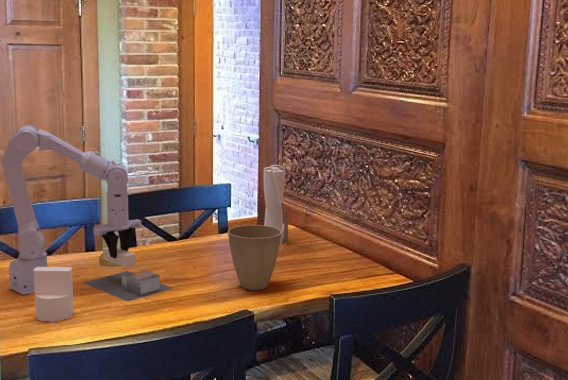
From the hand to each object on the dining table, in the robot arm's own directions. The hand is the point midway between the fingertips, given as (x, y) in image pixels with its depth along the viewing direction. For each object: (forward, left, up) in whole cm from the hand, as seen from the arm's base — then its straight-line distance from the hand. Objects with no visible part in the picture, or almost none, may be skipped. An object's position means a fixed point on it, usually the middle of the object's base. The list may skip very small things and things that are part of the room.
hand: (118, 256), depth 210 cm
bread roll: (+9, +17, -8) cm, 21 cm away
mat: (-1, -4, -8) cm, 9 cm away
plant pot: (+25, -28, -8) cm, 39 cm away
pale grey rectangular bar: (0, 0, -2) cm, 2 cm away
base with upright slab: (-26, -9, -8) cm, 29 cm away
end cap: (0, -10, -7) cm, 13 cm away
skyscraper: (+60, -3, -8) cm, 61 cm away
